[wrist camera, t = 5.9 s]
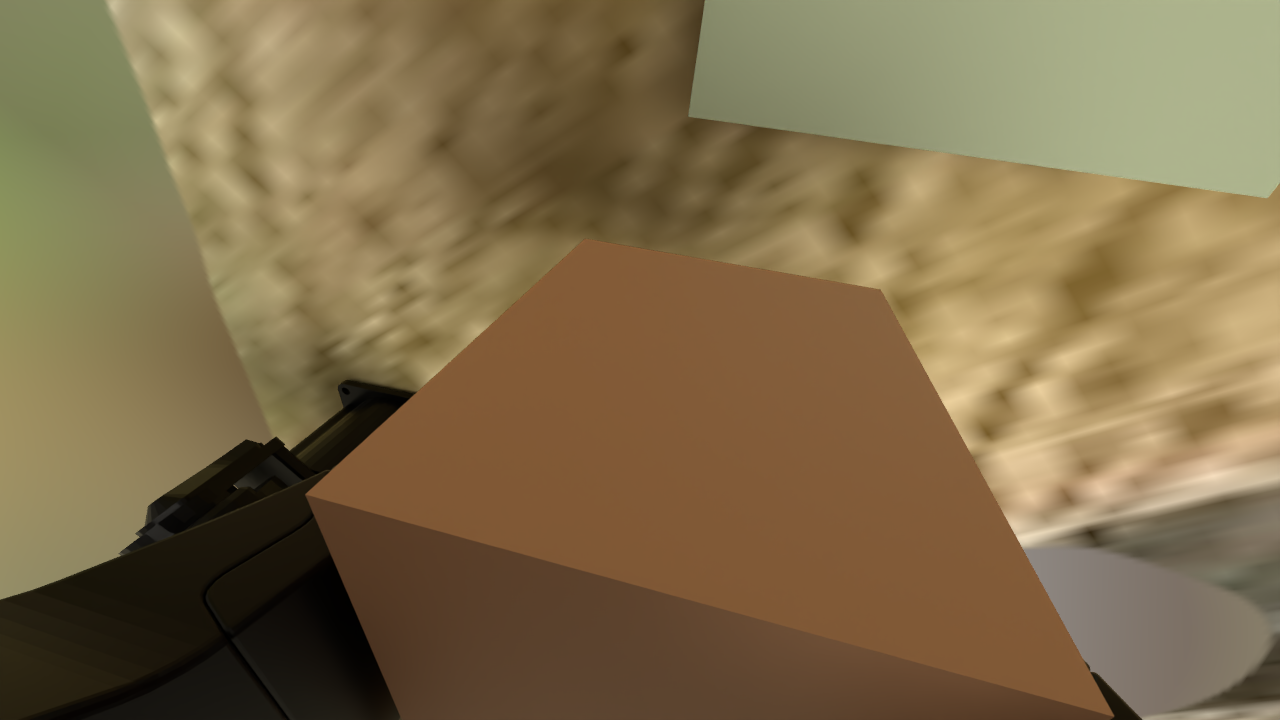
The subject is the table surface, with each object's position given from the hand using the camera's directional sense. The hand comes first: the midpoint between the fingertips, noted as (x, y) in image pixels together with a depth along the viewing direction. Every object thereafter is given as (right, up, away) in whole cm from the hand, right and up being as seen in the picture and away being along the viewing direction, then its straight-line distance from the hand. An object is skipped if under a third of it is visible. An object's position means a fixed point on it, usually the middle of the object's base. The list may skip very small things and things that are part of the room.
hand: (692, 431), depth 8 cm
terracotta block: (0, +1, +1) cm, 2 cm away
